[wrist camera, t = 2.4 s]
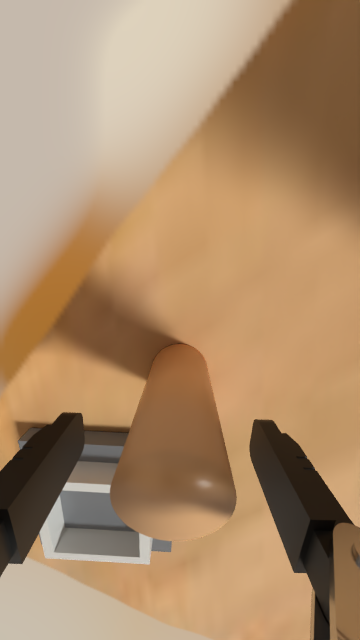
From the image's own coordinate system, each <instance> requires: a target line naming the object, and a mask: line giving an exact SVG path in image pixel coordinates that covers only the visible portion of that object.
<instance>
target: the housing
mask: <svg viewBox="0 0 360 640" xmlns="http://www.w3.org/2000/svg"><path fill="white" fill-rule="evenodd" d="M41 429H42V428H30V429H29V430H28V431H27V432H26V433H25V434H24V435H23V436H22V437H21V438H20V439H19V440H18V443H19V447H20V449H22V448H23V446H24V445H25V444H26V442H27V441H28V440H29V439H30V438H31V437H32V436H33V435H34V434H35V433H37V432H38V431H39V430H41ZM128 434H129V433H119V432H100V431H84V435H85V444H84V449H83V452H82V454H81V456H80V458H79V460H78V462H77V464H76V466H75V467H74V469H73V471H72V473H71V475H70V477H69V479H68V480H67V482H66V484H65V486H64V488H63V490H62V491H61V493H60V495H59V497H58V499H57V501H56V503H55V504H54V506H53V508H52V510H51V512H50V514H49V515H48V517H47V519H46V521H45V523H44V525H43V527H42V528H41V530H40V532H39V536H40V540H41V544H42V546H43V550H44V554H45V558H52V559H69V560H85V561H102V562H119V563H135V564H150V557H151V551H161V552H171V542H172V541H164V540H159V539H154V538H151V537H148V536H145V535H143V534H140V533H138V532H136V531H135V530H133V529H132V528H130V527H129V526H127V525H126V524H125V523H124V522H123V521H122V520H121V519H120V518H119V517H118V515H117V514H116V513H115V511H114V509H113V507H112V504H111V500H110V487H111V483H112V480H113V477H114V474H115V471H116V468H117V465H118V462H119V460H120V457H121V454H122V451H123V448H124V445H125V442H126V439H127V437H128Z"/></svg>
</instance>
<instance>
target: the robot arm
mask: <svg viewBox="0 0 360 640" xmlns="http://www.w3.org/2000/svg"><path fill="white" fill-rule="evenodd" d="M84 444H85V435H84V426H83V417H82V414H81V413H67V412H64V413H62V414H60V416H59V417H58V418H57V419H56V420H55V421H54V423H53V424H52V425H46V426H45V427H44V428H42V429H41V430H39V431H38V432H37V433H35V434H34V435H33V436H32V437H31V438H30V439H29V440H28V441H27V442H26V444H25V445H24V446H23V448H22V449H20V450H19V451H18V452H17V453H16V455H15V456H14V457H13V459H12V460H10V461H9V462H8V463H7V465H6V466H5V467H4V468H3V469H2V470H1V471H0V576H1V575H2V573H3V571H4V570H5V568H6V566H7V565H8V563H12V564H22V563H23V561H24V560H25V558H26V556H27V554H28V552H29V551H30V549H31V547H32V545H33V543H34V541H35V539H36V538H37V536H38V534H39V532H40V530H41V528H42V527H43V525H44V523H45V521H46V519H47V517H48V515H49V514H50V512H51V510H52V508H53V506H54V504H55V503H56V501H57V499H58V497H59V495H60V493H61V491H62V490H63V488H64V486H65V484H66V482H67V480H68V479H69V477H70V475H71V473H72V471H73V469H74V467H75V466H76V464H77V462H78V460H79V458H80V456H81V454H82V452H83V449H84ZM250 457H251V460H252V463H253V466H254V469H255V471H256V474H257V477H258V479H259V482H260V484H261V487H262V490H263V492H264V495H265V498H266V500H267V503H268V506H269V508H270V511H271V513H272V516H273V519H274V521H275V524H276V527H277V529H278V532H279V535H280V537H281V540H282V542H283V545H284V548H285V550H286V553H287V556H288V558H289V561H290V563H291V566H292V569H293V571H294V573H307V575H308V577H309V579H310V582H311V584H312V587H313V589H312V598H311V623H310V640H360V528H359V527H357V526H355V525H354V524H353V523H352V521H351V520H350V519H349V517H348V516H347V514H346V513H345V511H344V510H343V508H342V507H341V505H340V504H339V503H338V501H337V500H336V498H335V497H334V495H333V494H332V492H331V491H330V490H329V488H328V487H327V485H326V484H325V482H324V481H323V479H322V478H321V476H320V475H319V474H318V472H317V471H315V468H314V466H313V465H312V463H311V462H310V461H309V459H307V456H306V455H305V453H304V452H303V450H302V449H301V447H300V446H299V445H298V443H296V442H295V441H294V440H293V439H292V438H291V437H290V436H289V435H287V434H286V433H281V432H280V430H279V429H278V427H277V426H276V424H275V423H274V421H272V420H257V419H256V420H254V422H253V428H252V434H251V440H250Z"/></svg>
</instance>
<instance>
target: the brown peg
mask: <svg viewBox="0 0 360 640" xmlns="http://www.w3.org/2000/svg"><path fill="white" fill-rule="evenodd" d="M236 498H237V497H236V490H235V486H234V481H233V477H232V473H231V468H230V464H229V460H228V455H227V451H226V447H225V442H224V438H223V433H222V429H221V425H220V420H219V416H218V412H217V407H216V403H215V399H214V394H213V390H212V386H211V381H210V377H209V373H208V368H207V364H206V361H205V359H204V357H203V355H202V354H201V353H200V352H199V351H198V350H197V349H195V348H193V347H191V346H189V345H185V344H174V345H170V346H167V347H165V348H164V349H162V350H161V351H160V352H159V353H158V354H157V355H156V357H155V359H154V362H153V364H152V367H151V370H150V373H149V376H148V379H147V382H146V385H145V388H144V390H143V393H142V396H141V399H140V402H139V405H138V408H137V411H136V413H135V416H134V419H133V422H132V425H131V428H130V431H129V434H128V437H127V439H126V442H125V445H124V448H123V451H122V454H121V457H120V460H119V462H118V465H117V468H116V471H115V474H114V477H113V480H112V483H111V487H110V500H111V504H112V507H113V509H114V511H115V513H116V514H117V515H118V517H119V518H120V519H121V520H122V521H123V522H124V523H125V524H126V525H127V526H129V527H130V528H132V529H133V530H135V531H136V532H138V533H140V534H143V535H145V536H148V537H151V538H154V539H159V540H164V541H189V540H194V539H198V538H202V537H204V536H207V535H209V534H211V533H213V532H215V531H217V530H218V529H220V528H221V527H222V526H223V525H224V524H225V523H226V522H227V521H228V520H229V519H230V517H231V516H232V514H233V512H234V509H235V506H236Z"/></svg>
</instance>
